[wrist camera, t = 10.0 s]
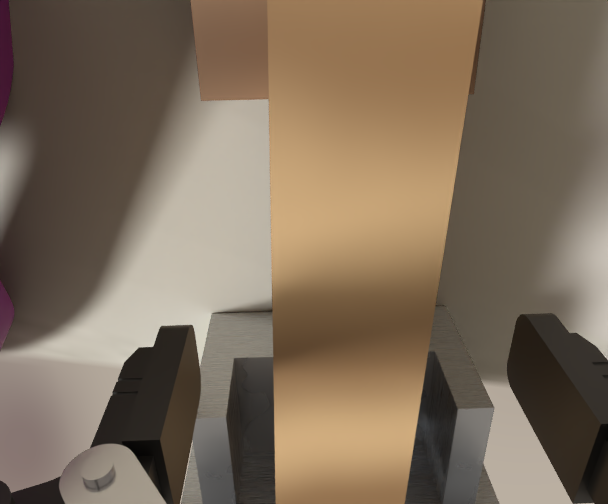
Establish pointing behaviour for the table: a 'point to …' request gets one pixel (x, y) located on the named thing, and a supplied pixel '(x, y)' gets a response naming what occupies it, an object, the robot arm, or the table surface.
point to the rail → (359, 230)
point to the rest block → (244, 49)
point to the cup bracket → (260, 419)
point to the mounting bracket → (3, 310)
